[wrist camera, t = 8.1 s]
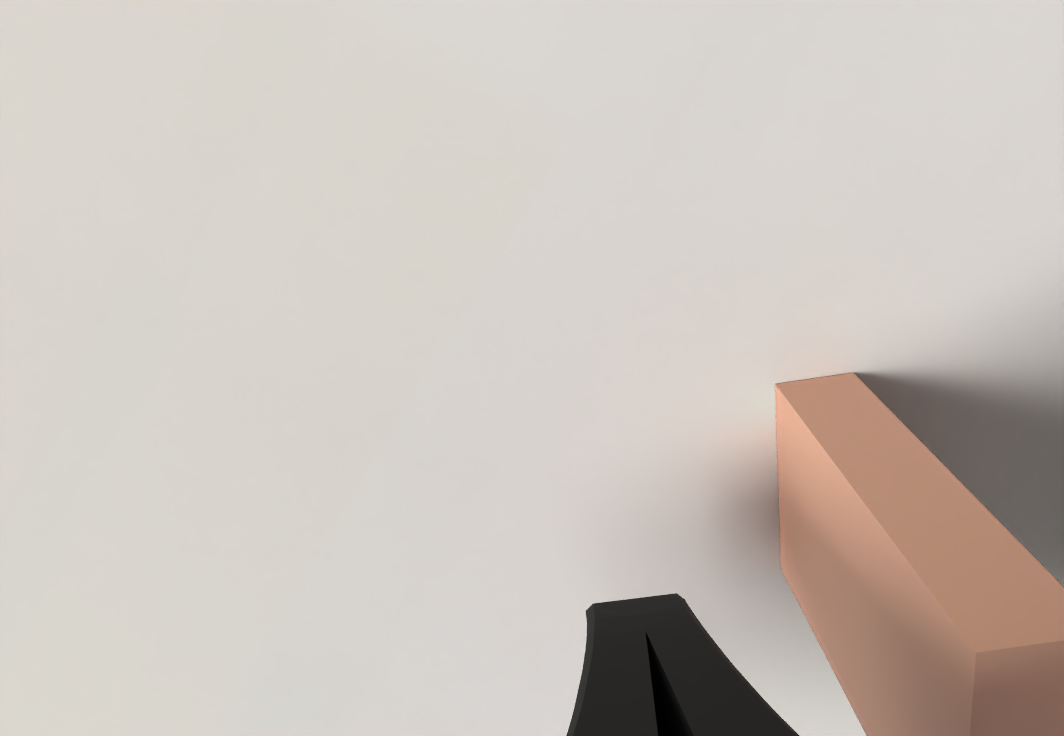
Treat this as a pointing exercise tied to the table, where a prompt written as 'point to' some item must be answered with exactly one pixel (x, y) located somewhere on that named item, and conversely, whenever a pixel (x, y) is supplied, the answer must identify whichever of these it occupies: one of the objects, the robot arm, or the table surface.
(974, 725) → the domino
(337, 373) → the table surface
